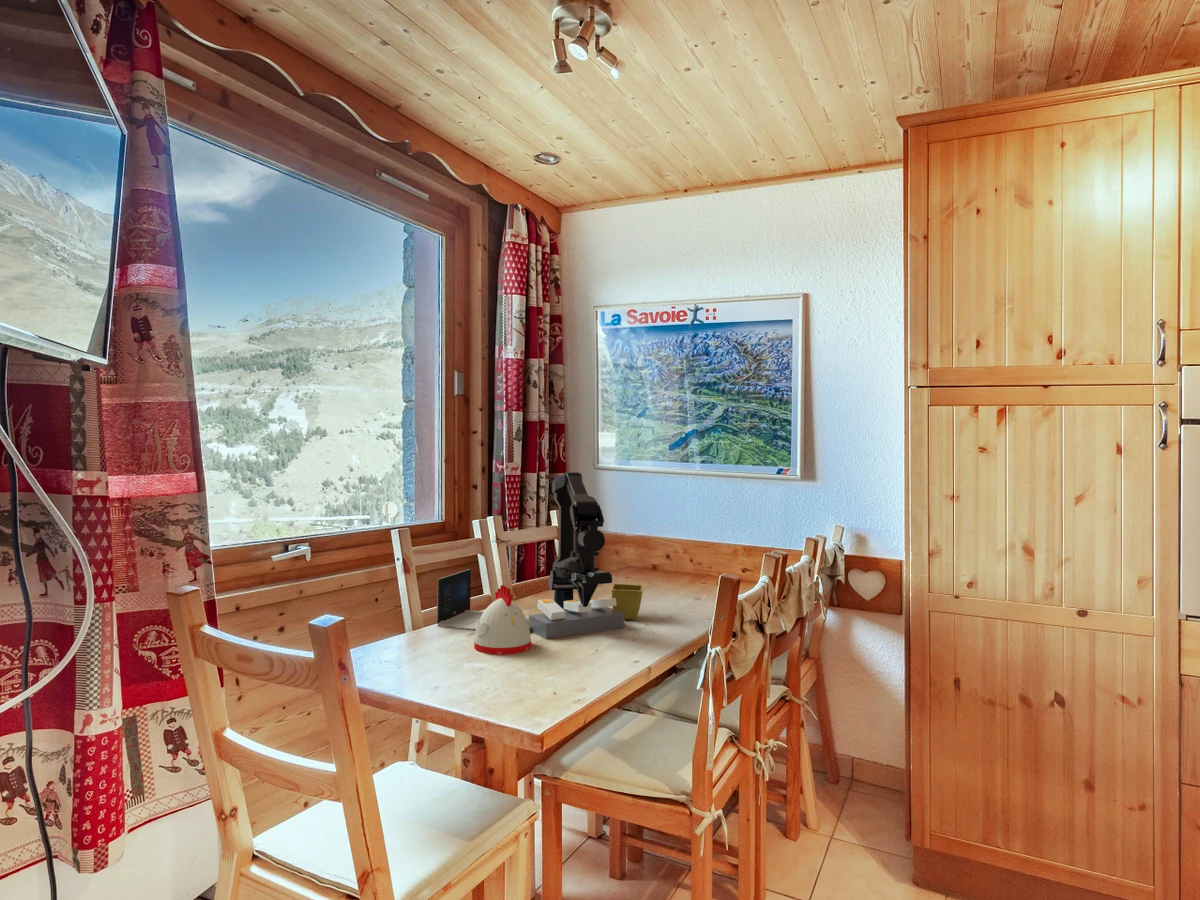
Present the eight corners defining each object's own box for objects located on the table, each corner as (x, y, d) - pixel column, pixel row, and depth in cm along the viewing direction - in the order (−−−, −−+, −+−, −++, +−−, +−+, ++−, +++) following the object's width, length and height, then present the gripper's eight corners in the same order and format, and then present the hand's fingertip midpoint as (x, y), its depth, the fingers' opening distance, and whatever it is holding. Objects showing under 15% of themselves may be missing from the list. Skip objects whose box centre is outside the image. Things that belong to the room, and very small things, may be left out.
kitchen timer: (488, 658, 167) (489, 593, 167) (465, 643, 178) (466, 583, 178) (541, 649, 174) (542, 587, 174) (515, 636, 186) (516, 578, 186)
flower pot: (642, 615, 211) (643, 584, 211) (641, 622, 203) (642, 590, 203) (612, 613, 212) (613, 583, 212) (610, 621, 204) (611, 589, 203)
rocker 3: (589, 607, 200) (588, 600, 201) (601, 606, 202) (600, 598, 203) (604, 607, 194) (603, 598, 194) (616, 605, 196) (615, 597, 196)
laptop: (477, 631, 190) (478, 582, 190) (436, 627, 194) (436, 579, 194) (507, 616, 207) (508, 571, 207) (469, 612, 211) (469, 568, 211)
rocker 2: (563, 608, 196) (563, 600, 196) (576, 607, 198) (576, 599, 198) (578, 612, 189) (578, 604, 190) (591, 610, 192) (591, 602, 192)
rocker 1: (537, 607, 192) (538, 599, 192) (550, 605, 194) (551, 598, 194) (550, 620, 186) (551, 612, 185) (564, 618, 188) (565, 610, 187)
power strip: (508, 632, 189) (508, 617, 189) (604, 619, 205) (604, 605, 205) (524, 642, 180) (525, 626, 180) (624, 627, 196) (624, 613, 196)
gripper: (541, 545, 195) (541, 603, 194) (576, 553, 179) (575, 616, 179) (577, 543, 201) (577, 599, 200) (613, 550, 185) (613, 611, 184)
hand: (584, 606), depth 191 cm, fingers closed
